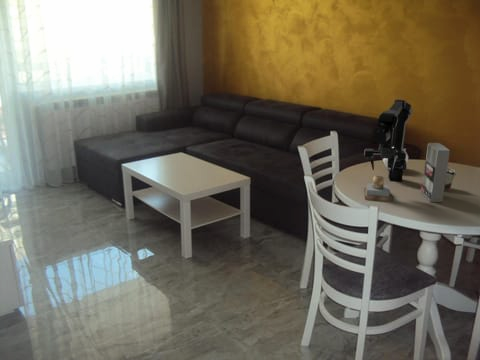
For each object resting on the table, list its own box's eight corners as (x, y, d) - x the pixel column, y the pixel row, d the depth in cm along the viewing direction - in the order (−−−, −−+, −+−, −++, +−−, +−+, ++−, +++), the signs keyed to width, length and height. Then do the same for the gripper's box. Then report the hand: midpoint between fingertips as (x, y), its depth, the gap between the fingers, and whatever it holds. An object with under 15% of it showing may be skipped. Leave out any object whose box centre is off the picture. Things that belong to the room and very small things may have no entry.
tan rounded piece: (382, 186, 229) (383, 176, 228) (383, 189, 225) (384, 179, 223) (371, 185, 230) (373, 175, 229) (372, 188, 226) (373, 178, 224)
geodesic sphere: (413, 157, 272) (400, 138, 270) (416, 164, 259) (402, 144, 257) (391, 171, 277) (378, 151, 275) (392, 178, 264) (379, 158, 262)
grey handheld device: (419, 192, 234) (426, 142, 226) (432, 192, 234) (439, 142, 226) (429, 202, 221) (436, 150, 213) (442, 202, 221) (450, 150, 213)
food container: (453, 187, 241) (456, 168, 238) (453, 190, 236) (456, 171, 233) (427, 183, 246) (430, 165, 243) (426, 187, 241) (429, 168, 238)
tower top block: (387, 189, 232) (388, 185, 231) (388, 196, 223) (389, 191, 222) (366, 188, 234) (367, 183, 233) (366, 194, 225) (367, 189, 224)
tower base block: (388, 194, 234) (389, 189, 233) (391, 202, 222) (391, 197, 222) (363, 192, 236) (364, 187, 235) (364, 200, 225) (365, 195, 224)
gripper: (366, 142, 218) (363, 175, 223) (409, 144, 214) (405, 177, 220) (365, 136, 228) (362, 167, 233) (406, 138, 225) (402, 169, 230)
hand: (383, 170), depth 229 cm, fingers open, 9 cm apart
